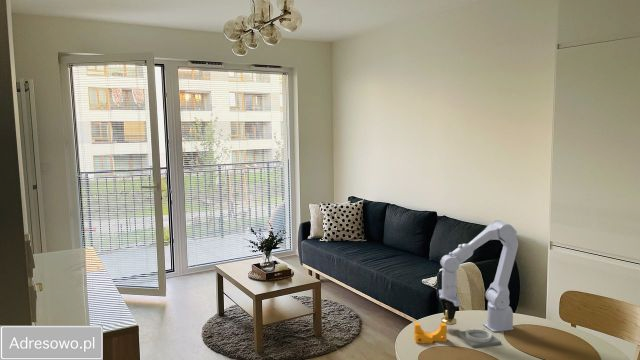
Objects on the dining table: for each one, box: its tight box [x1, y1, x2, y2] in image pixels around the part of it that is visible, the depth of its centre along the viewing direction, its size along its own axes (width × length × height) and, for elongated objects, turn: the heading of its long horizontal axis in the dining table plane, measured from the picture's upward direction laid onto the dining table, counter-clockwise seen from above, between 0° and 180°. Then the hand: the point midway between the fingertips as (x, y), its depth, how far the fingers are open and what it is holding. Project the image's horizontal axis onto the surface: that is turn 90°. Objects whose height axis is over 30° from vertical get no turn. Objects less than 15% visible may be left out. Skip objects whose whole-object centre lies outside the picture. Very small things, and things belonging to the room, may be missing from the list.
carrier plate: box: [456, 328, 502, 348], centre depth 185 cm, size 12×12×2 cm
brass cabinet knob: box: [440, 309, 457, 326], centre depth 193 cm, size 6×6×5 cm
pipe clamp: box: [413, 322, 448, 344], centre depth 184 cm, size 12×4×6 cm, turn 87°
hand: (448, 317), depth 193 cm, fingers closed on brass cabinet knob, 3 cm apart
